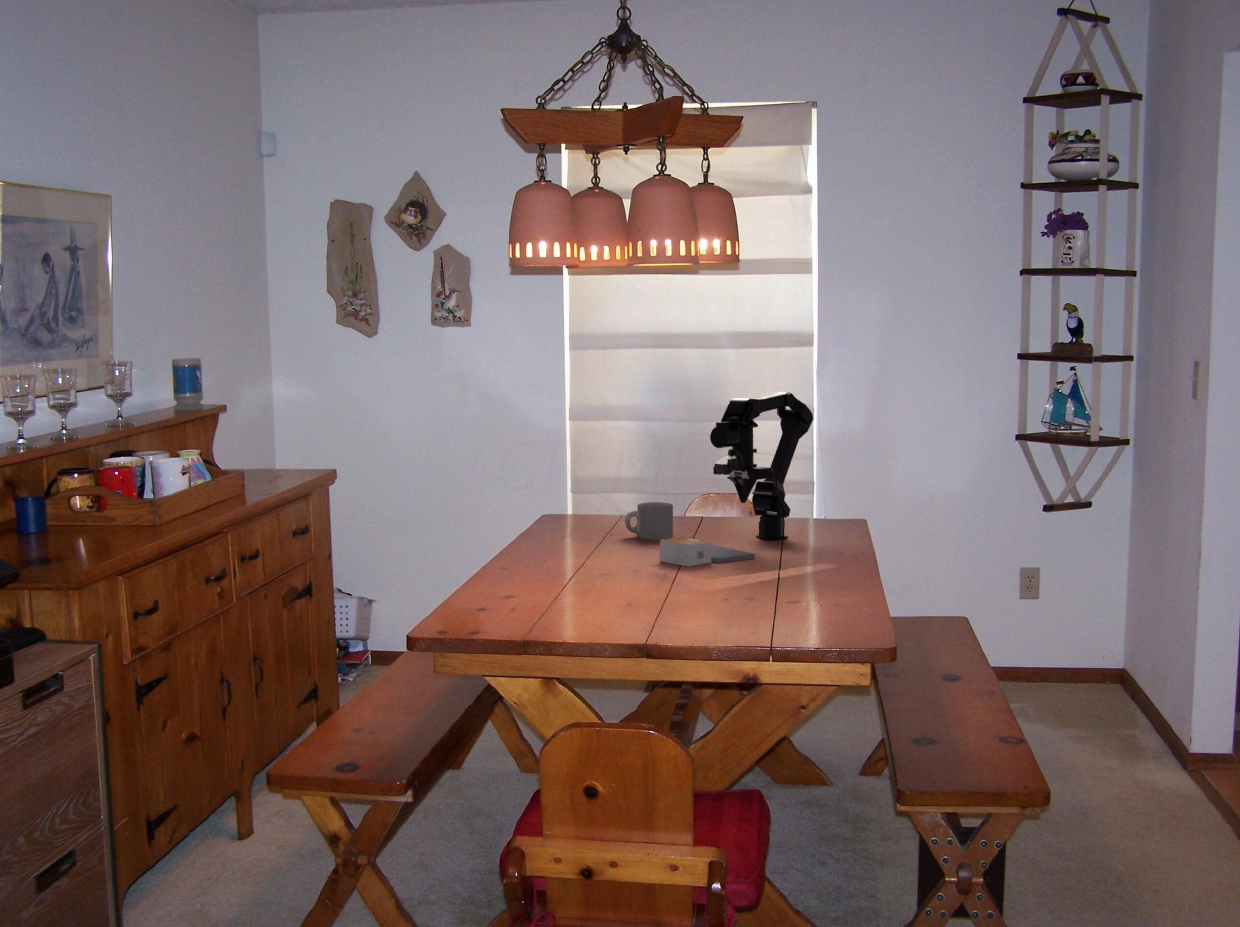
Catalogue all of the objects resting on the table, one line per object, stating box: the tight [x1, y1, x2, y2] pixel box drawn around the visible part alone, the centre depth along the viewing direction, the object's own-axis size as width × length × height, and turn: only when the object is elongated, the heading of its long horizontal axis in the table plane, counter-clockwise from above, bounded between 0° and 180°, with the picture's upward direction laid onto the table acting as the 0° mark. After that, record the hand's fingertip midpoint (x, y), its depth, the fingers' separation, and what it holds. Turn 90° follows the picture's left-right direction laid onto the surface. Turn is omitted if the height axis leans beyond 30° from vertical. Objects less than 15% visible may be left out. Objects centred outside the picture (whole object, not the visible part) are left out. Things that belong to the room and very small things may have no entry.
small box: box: [659, 536, 712, 567], centre depth 289 cm, size 8×6×10 cm
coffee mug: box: [624, 501, 674, 541], centre depth 325 cm, size 13×10×10 cm
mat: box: [711, 544, 756, 564], centre depth 298 cm, size 12×18×1 cm, turn 33°
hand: (743, 502), depth 313 cm, fingers closed
